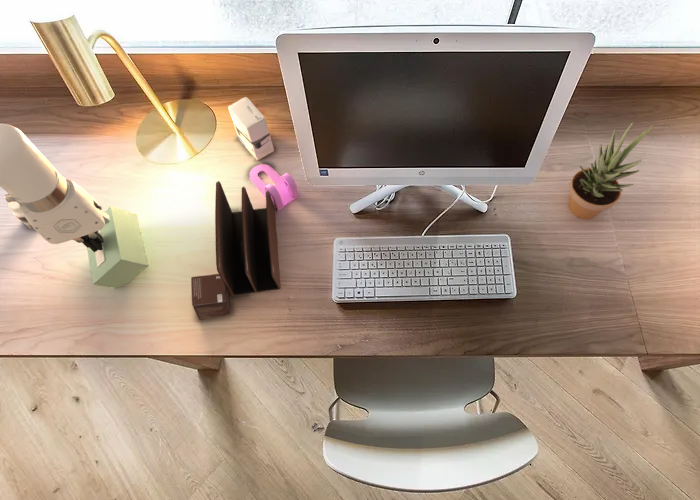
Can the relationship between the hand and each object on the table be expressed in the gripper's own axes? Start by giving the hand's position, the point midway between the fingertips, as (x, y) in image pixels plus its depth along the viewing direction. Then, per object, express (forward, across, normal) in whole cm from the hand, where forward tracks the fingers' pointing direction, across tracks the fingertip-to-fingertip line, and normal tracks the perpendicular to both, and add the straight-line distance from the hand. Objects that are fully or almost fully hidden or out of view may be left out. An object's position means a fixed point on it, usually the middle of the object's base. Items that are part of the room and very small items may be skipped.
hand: (97, 244), depth 96 cm
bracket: (+8, +36, +5) cm, 37 cm away
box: (+8, +17, -17) cm, 25 cm away
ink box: (+8, +36, +18) cm, 41 cm away
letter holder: (+8, +28, -9) cm, 30 cm away
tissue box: (+5, -2, 0) cm, 6 cm away
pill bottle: (+8, -14, +17) cm, 23 cm away
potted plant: (+8, +95, -26) cm, 99 cm away
